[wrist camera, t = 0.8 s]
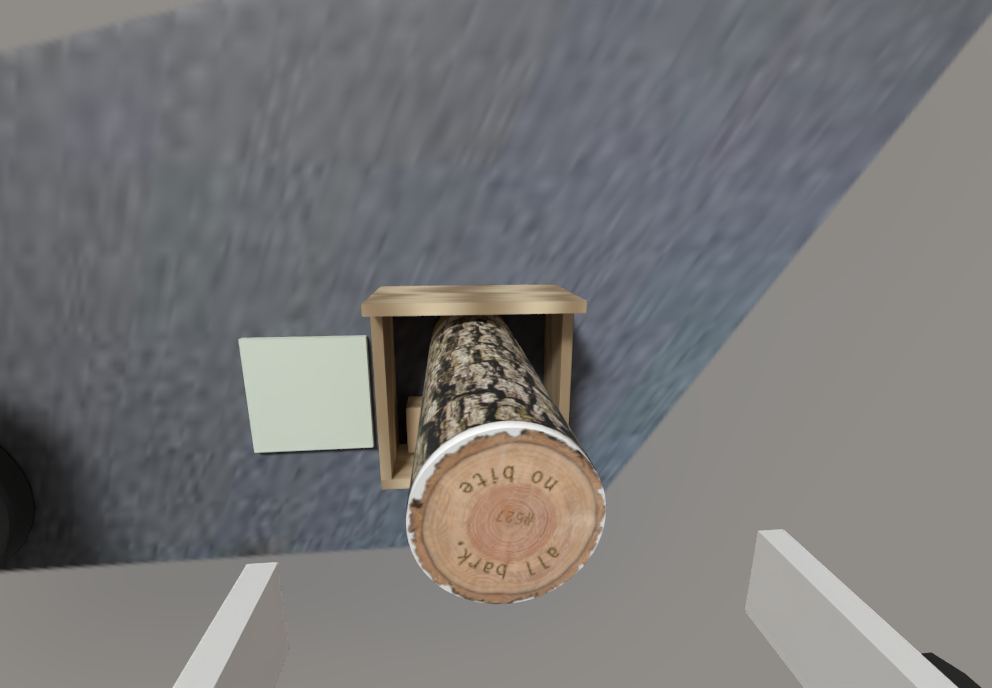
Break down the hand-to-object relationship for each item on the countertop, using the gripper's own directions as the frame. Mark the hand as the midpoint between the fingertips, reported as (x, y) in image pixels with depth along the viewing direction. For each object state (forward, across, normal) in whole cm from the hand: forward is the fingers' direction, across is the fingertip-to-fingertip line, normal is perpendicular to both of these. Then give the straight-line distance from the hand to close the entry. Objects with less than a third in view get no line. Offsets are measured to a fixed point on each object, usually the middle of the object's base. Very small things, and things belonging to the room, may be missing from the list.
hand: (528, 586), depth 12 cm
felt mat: (+28, -14, -4) cm, 32 cm away
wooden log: (+28, 0, 0) cm, 28 cm away
